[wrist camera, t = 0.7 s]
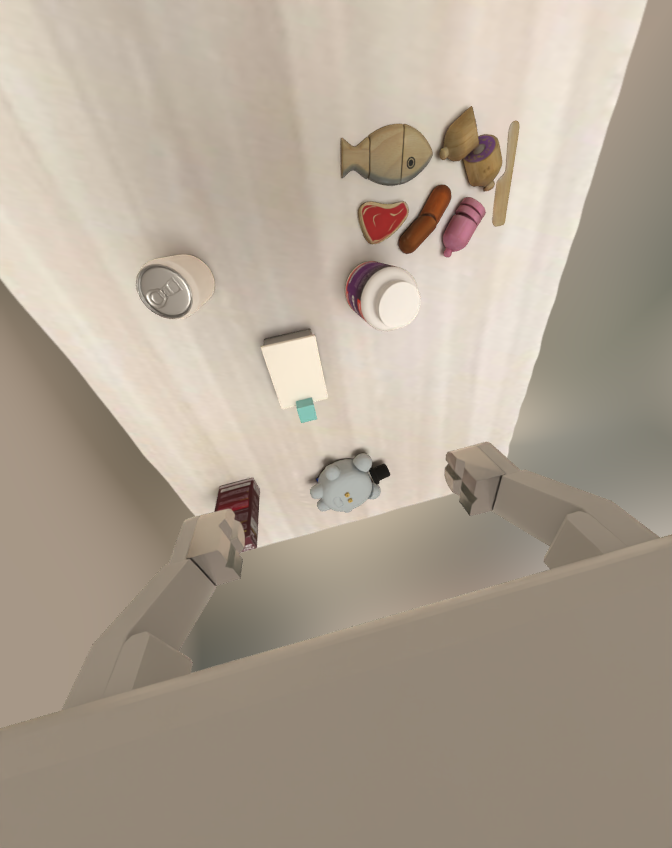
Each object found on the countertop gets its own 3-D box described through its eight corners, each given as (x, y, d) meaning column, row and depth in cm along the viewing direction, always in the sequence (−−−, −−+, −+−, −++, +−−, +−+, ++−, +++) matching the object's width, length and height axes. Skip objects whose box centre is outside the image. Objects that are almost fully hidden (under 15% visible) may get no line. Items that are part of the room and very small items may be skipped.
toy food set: (521, 95, 35) (546, 81, 32) (499, 241, 45) (517, 242, 42) (335, 139, 34) (341, 128, 31) (354, 278, 44) (360, 281, 41)
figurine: (321, 507, 75) (385, 478, 76) (329, 533, 68) (399, 500, 69) (298, 466, 64) (373, 434, 66) (305, 492, 58) (388, 455, 59)
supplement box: (227, 498, 66) (215, 560, 54) (219, 485, 64) (204, 548, 51) (261, 489, 67) (257, 548, 54) (254, 476, 64) (249, 536, 51)
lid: (261, 345, 43) (260, 353, 40) (313, 333, 43) (317, 340, 40) (284, 415, 51) (285, 426, 48) (329, 404, 52) (332, 415, 48)
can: (156, 270, 38) (116, 281, 28) (192, 244, 37) (162, 246, 28) (192, 311, 42) (167, 333, 32) (224, 288, 41) (209, 303, 31)
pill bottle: (334, 292, 44) (354, 311, 32) (367, 248, 41) (402, 252, 30) (367, 323, 48) (396, 350, 36) (399, 285, 45) (441, 301, 34)
